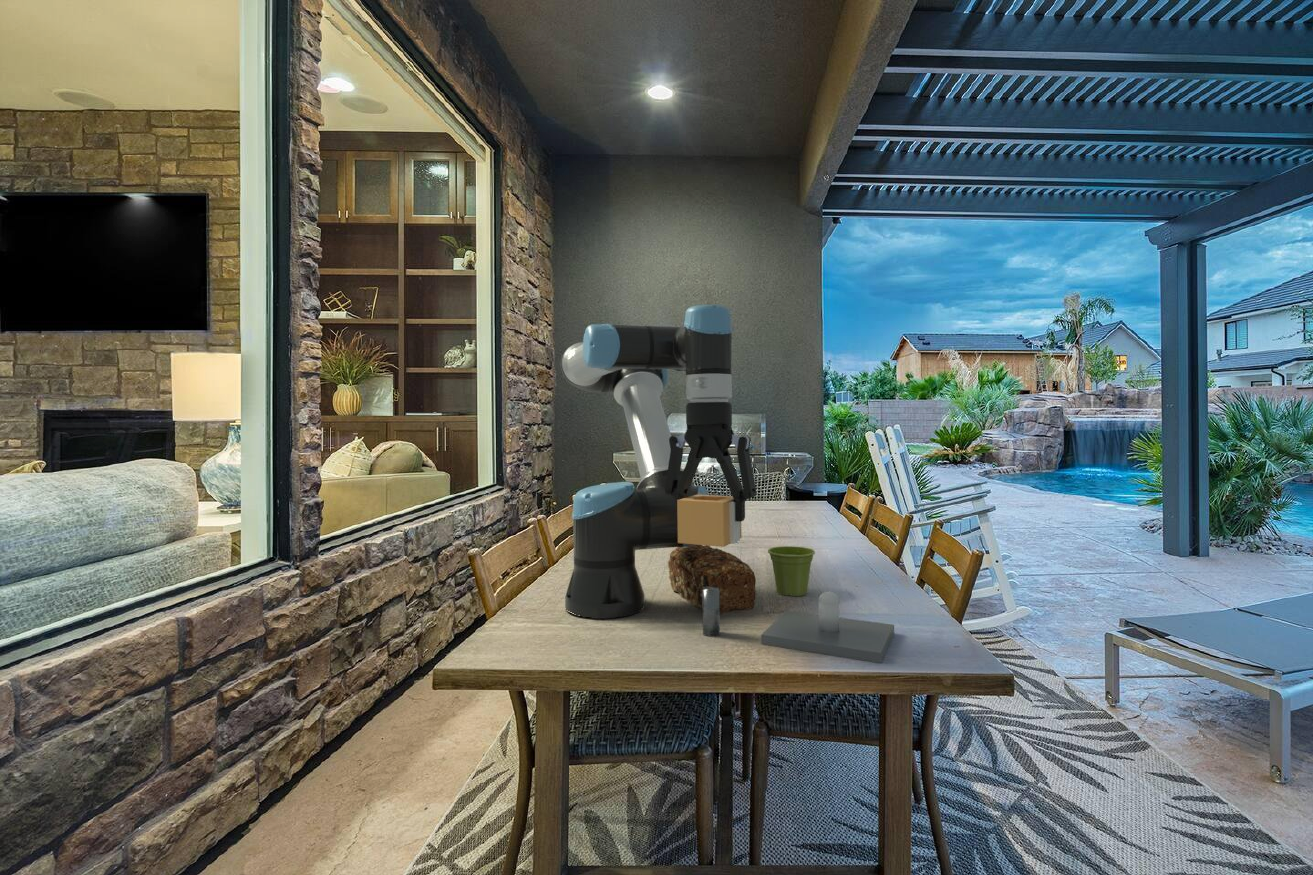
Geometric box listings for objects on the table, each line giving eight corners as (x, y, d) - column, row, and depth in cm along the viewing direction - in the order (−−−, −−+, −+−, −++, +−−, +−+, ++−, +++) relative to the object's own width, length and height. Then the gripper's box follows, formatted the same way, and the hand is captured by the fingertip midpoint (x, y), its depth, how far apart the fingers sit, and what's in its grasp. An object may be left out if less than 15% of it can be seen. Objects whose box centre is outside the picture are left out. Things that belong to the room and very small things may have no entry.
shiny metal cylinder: (700, 634, 105) (699, 589, 105) (706, 629, 108) (706, 585, 107) (715, 637, 104) (715, 591, 104) (722, 632, 106) (721, 587, 106)
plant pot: (759, 590, 132) (758, 548, 132) (796, 584, 136) (795, 544, 136) (786, 601, 124) (786, 557, 123) (825, 595, 128) (824, 552, 127)
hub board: (761, 643, 101) (761, 596, 100) (786, 618, 113) (786, 576, 113) (880, 663, 92) (880, 611, 92) (894, 633, 105) (894, 587, 104)
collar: (677, 542, 104) (677, 500, 104) (698, 534, 111) (697, 494, 111) (723, 546, 100) (723, 502, 100) (741, 538, 107) (741, 496, 107)
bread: (667, 591, 133) (667, 543, 132) (713, 585, 137) (713, 539, 136) (707, 616, 115) (707, 561, 115) (758, 609, 119) (758, 556, 119)
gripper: (642, 402, 106) (643, 537, 107) (762, 399, 96) (763, 548, 97) (662, 402, 113) (664, 530, 114) (777, 400, 103) (778, 540, 104)
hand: (709, 538), depth 105 cm, fingers closed on collar, 8 cm apart
